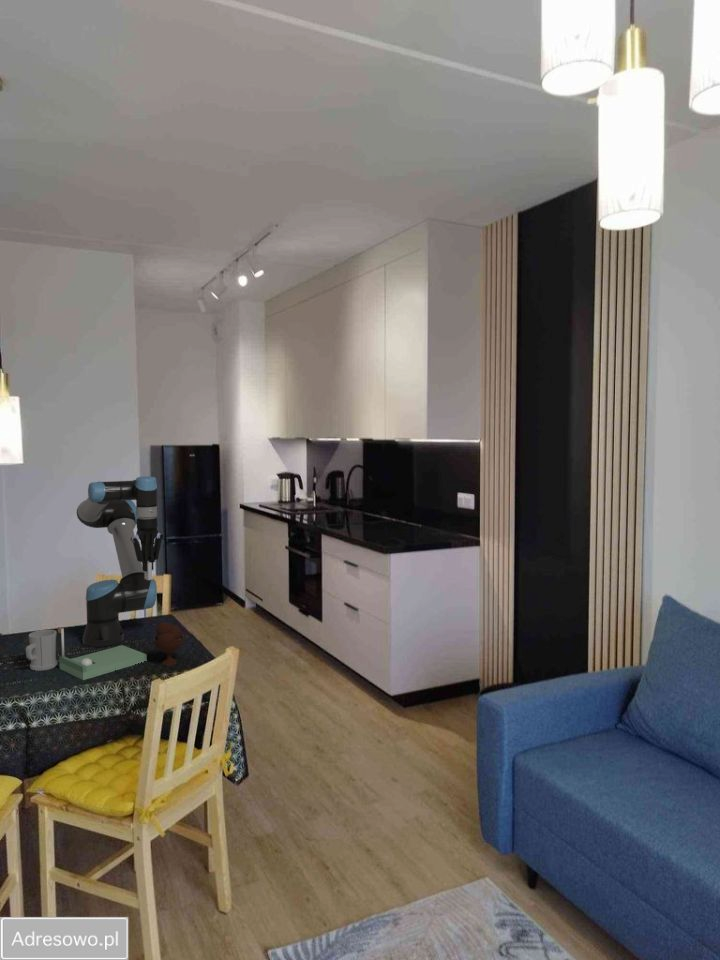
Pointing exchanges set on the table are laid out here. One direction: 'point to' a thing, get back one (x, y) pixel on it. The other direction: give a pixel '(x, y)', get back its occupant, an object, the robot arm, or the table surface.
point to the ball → (86, 662)
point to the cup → (42, 650)
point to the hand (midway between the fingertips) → (148, 579)
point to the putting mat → (100, 661)
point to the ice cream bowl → (168, 641)
